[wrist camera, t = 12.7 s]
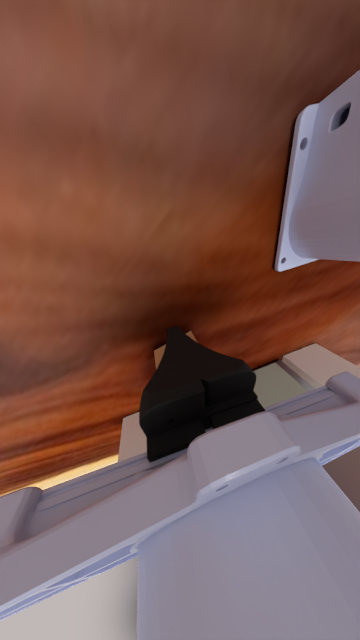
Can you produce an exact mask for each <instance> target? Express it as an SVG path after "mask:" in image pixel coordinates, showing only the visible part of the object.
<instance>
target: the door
mask: <svg viewBox="0 0 360 640" xmlns="http://www.w3.org/2000/svg"><path fill="white" fill-rule="evenodd" d="M254 372H255V374H256V383H255V386H254V390H253V391H254V392H255V393H256V395H257V396H258V399H257V400H258V401H259V402H260V404H261V405H262V406H263V408H265V407H268V406H271V405H273V404H276V403H279V402H282V401H284V400H287V399H290V398H292V397H295V396H298V395H300V394H303V393H306V392H308V391H311V390H314V389H315V388H314V387H313V386H312V385H310V384H309V383H308V382H307V381H306V380H304V379H303V378H302V377H301V376H299V375H298V374H297V373H296V372H295V371H293V370H292V369H291V368H290V367H288V366H287V365H286V364H285V363H283V362H282V361H281V360H279V361H277V362H275V363H273V364H270V365H268V366H265V367H263V368H260V369H258V370H255V371H254Z"/></svg>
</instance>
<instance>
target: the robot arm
mask: <svg viewBox="0 0 360 640" xmlns="http://www.w3.org/2000/svg"><path fill="white" fill-rule="evenodd" d="M300 144H301V148H300ZM319 259H327V260H343V261H359V262H360V70H359V71H357V72H356V73H355V74H354V75H353V76H351V77H350V78H349V79H348V80H347V81H345V82H344V83H343V84H342V85H341V86H339V87H338V88H337V89H336V90H335V91H333V92H332V93H331V94H330V95H328V96H327V97H326V98H325V99H324V100H322V101H321V102H320V103H318V104H313V105H309V106H307V107H306V108H305V109H304V110H303V111H301V113H300V114H299V115H298V118H297V120H296V124H295V130H294V137H293V144H292V151H291V158H290V165H289V172H288V179H287V186H286V192H285V199H284V206H283V213H282V220H281V227H280V234H279V241H278V248H277V255H276V262H275V271H278V272H281V271H284V270H288V269H291V268H294V267H297V266H300V265H303V264H306V263H309V262H312V261H316V260H319ZM281 260H282V261H281ZM167 332H168V335H167V342H166V346H165V350H164V353H163V356H162V359H161V361H160V363H159V365H158V367H157V369H156V371H155V373H154V375H153V376H152V378H151V380H150V381H149V383H148V384H147V385H146V387H145V388H144V390H143V393H142V397H141V402H140V410H139V424H140V427H141V429H142V430H143V432H144V434H145V435H146V437H147V452H144V453H142V454H139V455H136V456H134V457H131V458H128V459H126V460H123V461H120V462H118V463H115V464H112V465H110V466H107V467H104V468H101V469H99V470H96V471H93V472H91V473H88V474H85V475H83V476H80V477H77V478H75V479H72V480H69V481H66V482H64V483H61V484H58V485H56V486H53V487H50V488H48V489H45V490H41V489H40V488H38V487H27V488H23V489H20V490H17V491H15V492H12V493H9V494H6V495H4V496H1V497H0V621H1V620H3V619H5V618H7V617H9V616H11V615H13V614H15V613H18V612H20V611H22V610H24V609H25V608H28V607H30V606H32V605H34V604H36V603H39V602H40V601H43V600H45V599H47V598H49V597H51V596H53V595H56V594H58V593H60V592H62V591H64V590H66V589H68V588H71V587H73V586H75V585H77V584H79V583H81V582H83V581H85V580H88V579H90V578H92V577H94V576H96V575H98V574H101V573H103V572H105V571H107V570H109V569H111V568H114V567H116V566H118V565H120V564H122V563H124V562H127V561H129V560H131V559H133V558H135V557H137V556H138V589H137V640H360V512H359V511H358V510H357V509H356V508H355V506H354V505H353V504H352V503H351V501H350V500H349V499H348V498H347V497H346V495H345V494H344V493H343V492H342V490H341V489H340V488H339V487H338V486H337V484H336V483H335V482H334V481H333V479H332V478H331V477H330V476H329V475H328V473H327V472H326V471H325V470H324V469H323V467H322V465H324V464H326V463H327V462H329V461H331V460H333V459H335V458H337V457H339V456H341V455H343V454H345V453H347V452H349V451H350V450H353V449H354V448H356V447H358V446H360V379H359V378H358V377H356V376H354V375H353V374H351V373H349V372H343V373H340V374H337V375H335V376H332V377H331V378H329V379H328V380H327V382H326V383H325V386H322V387H319V388H316V389H314V390H311V391H308V392H306V393H303V394H300V395H298V396H295V397H292V398H290V399H287V400H284V401H282V402H279V403H276V404H273V405H271V406H268V407H265V408H263V406H262V405H261V404H260V402H259V401H258V400H257V399H258V396H257V395H256V393H255V392H254V391H253V390H254V386H255V383H256V374H255V372H254V371H253V370H252V369H251V368H250V367H249V366H248V365H247V364H246V363H245V362H244V361H243V360H240V359H237V358H233V357H229V356H226V355H223V354H220V353H217V352H215V351H213V350H210V349H208V348H206V347H204V346H202V345H201V344H199V343H197V342H196V341H194V340H193V339H192V338H190V337H189V336H188V335H186V334H185V333H184V332H183V331H182V330H181V329H180V328H179V327H177V326H175V327H171V328H168V329H167Z"/></svg>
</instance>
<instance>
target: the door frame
mask: <svg viewBox="0 0 360 640" xmlns="http://www.w3.org/2000/svg"><path fill="white" fill-rule="evenodd" d="M282 362H283V363H285V364H286V365H287V366H288V367H290V368H291V369H292V370H293V371H295V372H296V373H297V374H298V375H299V376H301V377H302V378H303V379H304V380H306V381H307V382H308V383H309V384H310V385H312V386H313V387H314V388H315V389H316V388H319V387H322V386H325V383H326V382H327V380H328V379H329V378H331V377H332V376H335V375H337V374H340V373H343V372H349V373H351V374H353V375H354V376H356V377H358V378H359V379H360V367H358V366H356V365H354V364H352V363H350V362H349V361H347V360H345V359H343V358H341V357H340V356H338V355H336V354H334V353H332V352H331V351H329V350H327V349H325V348H323V347H322V346H320V345H318V344H316V343H315V344H312V345H310V346H307V347H304V348H302V349H299V350H297V351H294V352H292V353H289V354H286V355H284V356H283V359H282ZM144 452H147V437H146V435H145V434H144V432H143V430H142V429H141V427H140V424H139V412H137V413H135V414H132V415H130V416H127V417H125V418H123V424H122V432H121V441H120V449H119V457H118V462H120V461H123V460H126V459H128V458H131V457H134V456H136V455H139V454H142V453H144Z"/></svg>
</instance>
